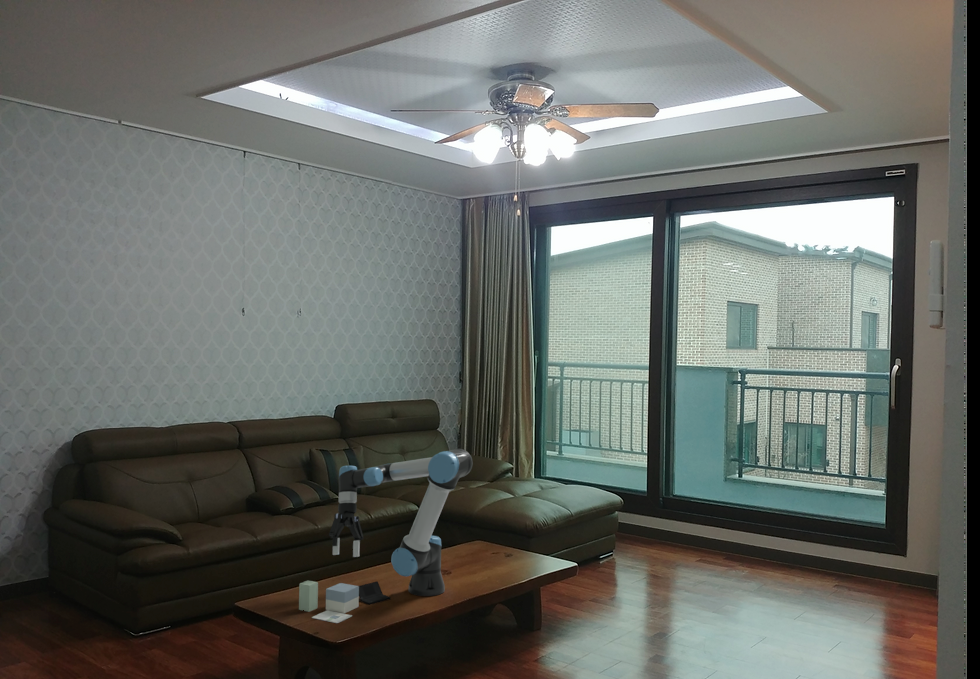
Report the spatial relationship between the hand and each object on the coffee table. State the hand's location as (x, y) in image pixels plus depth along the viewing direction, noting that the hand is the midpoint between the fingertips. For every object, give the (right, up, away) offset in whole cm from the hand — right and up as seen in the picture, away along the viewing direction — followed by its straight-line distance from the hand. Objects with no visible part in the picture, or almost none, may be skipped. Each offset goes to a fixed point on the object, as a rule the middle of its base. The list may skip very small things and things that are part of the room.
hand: (346, 555), depth 318 cm
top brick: (-12, -16, -16) cm, 26 cm away
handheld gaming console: (+12, -17, -3) cm, 21 cm away
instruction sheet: (-1, -16, -25) cm, 30 cm away
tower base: (+1, -16, -15) cm, 22 cm away
